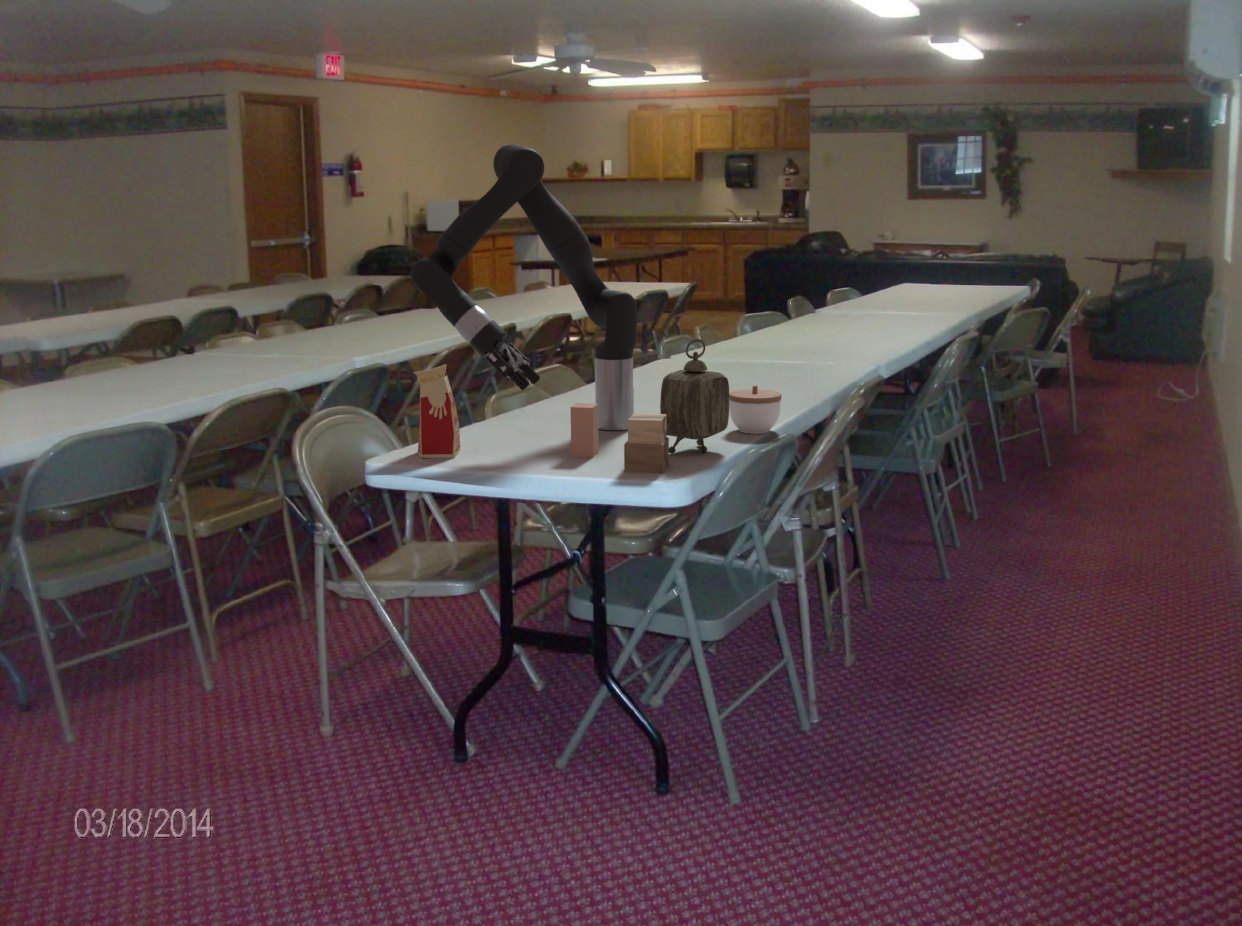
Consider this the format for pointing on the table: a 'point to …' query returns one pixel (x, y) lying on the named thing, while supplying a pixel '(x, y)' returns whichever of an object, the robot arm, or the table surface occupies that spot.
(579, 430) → the terracotta pillar
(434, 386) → the milk carton
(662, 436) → the oak block
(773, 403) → the lidded bowl
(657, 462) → the walnut block
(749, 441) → the table surface
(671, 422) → the tabletop clock
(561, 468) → the table surface
